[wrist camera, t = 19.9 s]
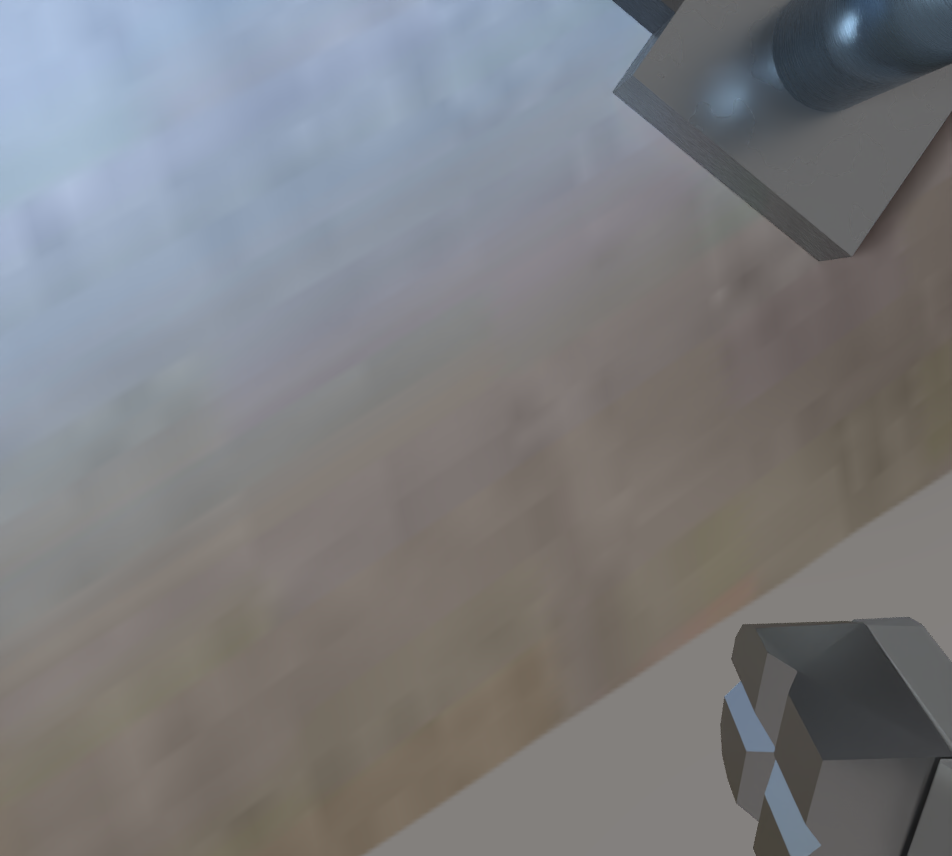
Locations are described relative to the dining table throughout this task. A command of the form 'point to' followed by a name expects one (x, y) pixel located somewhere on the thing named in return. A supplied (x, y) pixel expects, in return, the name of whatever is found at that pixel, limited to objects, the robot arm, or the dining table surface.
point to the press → (776, 121)
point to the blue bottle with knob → (858, 48)
